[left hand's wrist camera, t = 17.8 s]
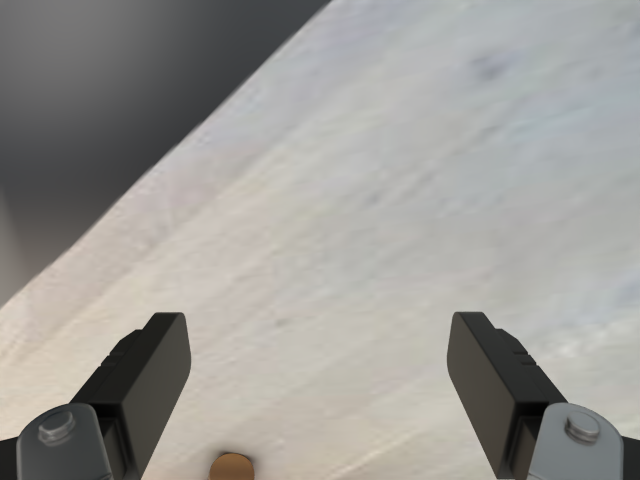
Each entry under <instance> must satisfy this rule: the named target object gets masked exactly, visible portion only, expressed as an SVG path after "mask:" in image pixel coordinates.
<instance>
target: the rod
mask: <svg viewBox="0 0 640 480" xmlns="http://www.w3.org/2000/svg"><path fill="white" fill-rule="evenodd" d="M208 480H254V469H253V466H252V464H251V463H250V461H249V460H248V459H247V458H245V457H244V456H242V455H239V454H234V453H230V454H225V455H223V456H221V457H219V458H218V459H216V460H215V462H214V463H213V464H212V466H211V469H210V472H209V476H208Z"/></svg>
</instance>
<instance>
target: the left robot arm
mask: <svg viewBox="0 0 640 480" xmlns="http://www.w3.org/2000/svg"><path fill="white" fill-rule="evenodd" d="M447 367H448V372H449V376H450V378H451V380H452V382H453V385H454V387H455V389H456V391H457V393H458V395H459V398H460V400H461V402H462V404H463V406H464V409H465V411H466V413H467V415H468V417H469V419H470V422H471V424H472V426H473V428H474V430H475V432H476V435H477V437H478V439H479V441H480V443H481V445H482V448H483V450H484V452H485V454H486V456H487V459H488V461H489V463H490V465H491V467H492V469H493V472H494V474H495V476H496V478H497V479H515V480H640V440H637V439H632V438H628V437H624V436H621V435H620V434H619V432H618V431H617V429H616V428H615V427H614V426H613V425H612V424H611V423H610V422H609V421H607V420H606V419H605V418H604V417H602V416H600V415H599V414H597V413H595V412H594V411H592V410H590V409H587V408H585V407H582V406H579V405H576V404H571V403H568V401H567V400H566V399H565V398H564V397H563V395H562V394H561V393H560V392H559V390H558V389H557V388H556V387H555V385H554V384H553V383H552V382H551V380H550V379H549V378H548V377H547V375H546V374H545V373H544V372H543V370H542V369H541V368H540V367H539V365H536V362H535V361H534V359H533V358H532V357H531V356H530V355H528V352H527V351H526V349H525V348H524V347H523V346H522V344H521V343H520V342H519V341H518V339H516V338H515V337H513V336H512V335H510V334H509V333H507V332H506V331H504V330H503V329H495V328H494V326H493V325H492V324H491V322H490V321H489V320H488V318H487V317H486V316H485V314H484V313H483V312H455V313H454V315H453V318H452V324H451V331H450V338H449V345H448V352H447ZM190 368H191V352H190V345H189V339H188V332H187V325H186V319H185V316H184V314H183V313H181V312H157V313H155V314H154V315H153V316H152V317H151V319H150V320H149V321H148V323H147V324H146V325H145V327H144V328H143V329H142V330H134V331H133V332H132V333H130V334H129V335H127V336H126V337H124V338H123V339H121V340H120V341H119V342H118V343H117V345H116V346H115V347H114V348H113V349H112V351H111V352H110V355H109V356H107V357H106V358H105V359H104V361H103V362H102V363H101V366H99V367H98V368H97V369H96V370H95V372H94V373H93V374H92V375H91V377H90V378H89V379H88V380H87V381H86V383H85V384H84V385H83V386H82V388H81V389H80V390H79V391H78V393H77V394H76V395H75V396H74V397H73V399H72V400H71V401H70V402H69V404H64V405H61V406H58V407H55V408H53V409H50V410H48V411H46V412H45V413H43V414H41V415H40V416H38V417H36V418H35V419H34V420H33V421H31V422H30V423H29V424H28V425H27V426H26V427H25V428H24V429H23V431H22V432H21V434H20V435H19V436H18V437H14V438H10V439H6V440H2V441H0V480H141V478H142V476H143V473H144V471H145V469H146V467H147V465H148V463H149V461H150V458H151V456H152V454H153V452H154V450H155V448H156V446H157V443H158V441H159V439H160V437H161V435H162V433H163V430H164V428H165V426H166V424H167V422H168V420H169V418H170V415H171V413H172V411H173V409H174V407H175V405H176V403H177V400H178V398H179V396H180V394H181V392H182V390H183V387H184V385H185V383H186V381H187V379H188V376H189V373H190Z"/></svg>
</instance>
